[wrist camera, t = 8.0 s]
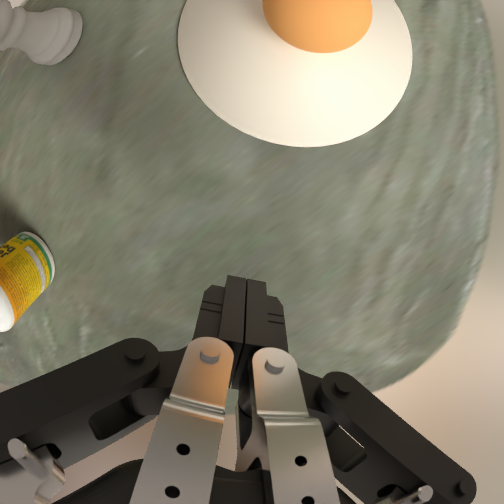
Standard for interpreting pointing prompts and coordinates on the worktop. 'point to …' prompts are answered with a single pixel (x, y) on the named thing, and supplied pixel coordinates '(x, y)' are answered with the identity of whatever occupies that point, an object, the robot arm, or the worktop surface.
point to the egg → (319, 22)
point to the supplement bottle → (22, 275)
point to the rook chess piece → (40, 32)
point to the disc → (292, 73)
